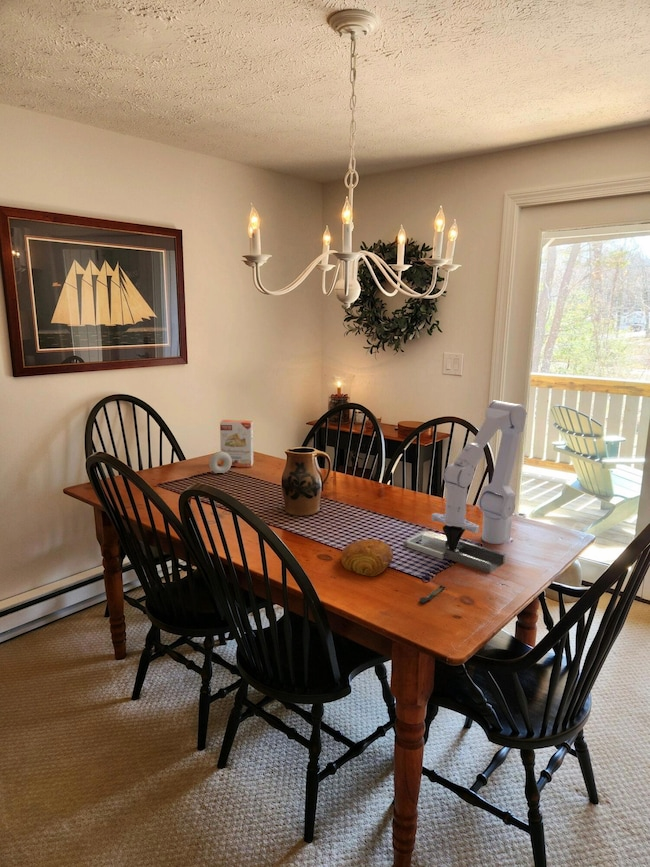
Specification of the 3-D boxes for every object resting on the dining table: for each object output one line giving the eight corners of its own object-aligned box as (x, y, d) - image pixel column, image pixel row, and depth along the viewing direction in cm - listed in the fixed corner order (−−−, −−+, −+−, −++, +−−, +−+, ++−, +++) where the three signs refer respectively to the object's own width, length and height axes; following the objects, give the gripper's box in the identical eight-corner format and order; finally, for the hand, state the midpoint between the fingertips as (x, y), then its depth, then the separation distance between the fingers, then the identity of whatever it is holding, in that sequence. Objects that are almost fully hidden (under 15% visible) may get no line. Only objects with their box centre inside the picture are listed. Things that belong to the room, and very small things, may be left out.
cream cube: (440, 546, 170) (440, 533, 169) (451, 549, 167) (452, 537, 167) (432, 549, 167) (433, 537, 166) (444, 554, 165) (445, 541, 164)
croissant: (397, 566, 163) (400, 539, 162) (381, 582, 149) (384, 552, 148) (351, 555, 169) (354, 529, 168) (331, 570, 155) (334, 541, 154)
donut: (210, 476, 240) (210, 453, 237) (208, 474, 243) (207, 451, 240) (233, 473, 244) (232, 451, 242) (230, 471, 247) (230, 449, 245)
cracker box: (220, 467, 254) (219, 421, 249) (223, 463, 259) (222, 419, 255) (251, 468, 253) (250, 422, 248) (253, 464, 259) (253, 420, 254)
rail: (460, 551, 169) (460, 540, 168) (504, 565, 159) (505, 554, 159) (444, 560, 162) (445, 549, 161) (489, 576, 153) (490, 564, 152)
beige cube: (428, 543, 173) (429, 531, 172) (439, 547, 170) (440, 534, 169) (421, 547, 170) (421, 534, 169) (432, 551, 167) (433, 538, 166)
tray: (425, 537, 178) (426, 530, 178) (462, 549, 170) (463, 541, 169) (403, 548, 170) (404, 541, 169) (441, 562, 161) (442, 554, 160)
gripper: (426, 502, 164) (424, 546, 167) (471, 515, 154) (468, 561, 157) (439, 497, 169) (436, 539, 172) (484, 509, 159) (480, 553, 162)
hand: (452, 549), depth 165 cm, fingers closed
